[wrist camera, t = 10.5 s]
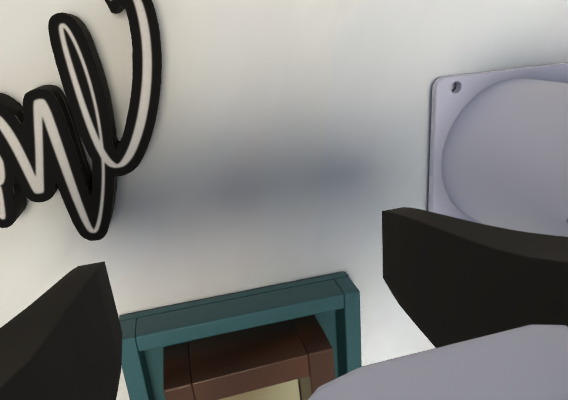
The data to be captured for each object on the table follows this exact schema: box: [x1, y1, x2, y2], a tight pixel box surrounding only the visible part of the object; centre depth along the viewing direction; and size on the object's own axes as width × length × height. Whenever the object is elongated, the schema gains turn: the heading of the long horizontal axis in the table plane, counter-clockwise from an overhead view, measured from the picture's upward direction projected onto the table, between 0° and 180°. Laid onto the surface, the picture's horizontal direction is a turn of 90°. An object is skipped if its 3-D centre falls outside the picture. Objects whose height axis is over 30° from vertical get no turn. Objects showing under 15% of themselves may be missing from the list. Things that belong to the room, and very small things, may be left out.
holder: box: [119, 272, 361, 400], centre depth 24 cm, size 11×11×2 cm
